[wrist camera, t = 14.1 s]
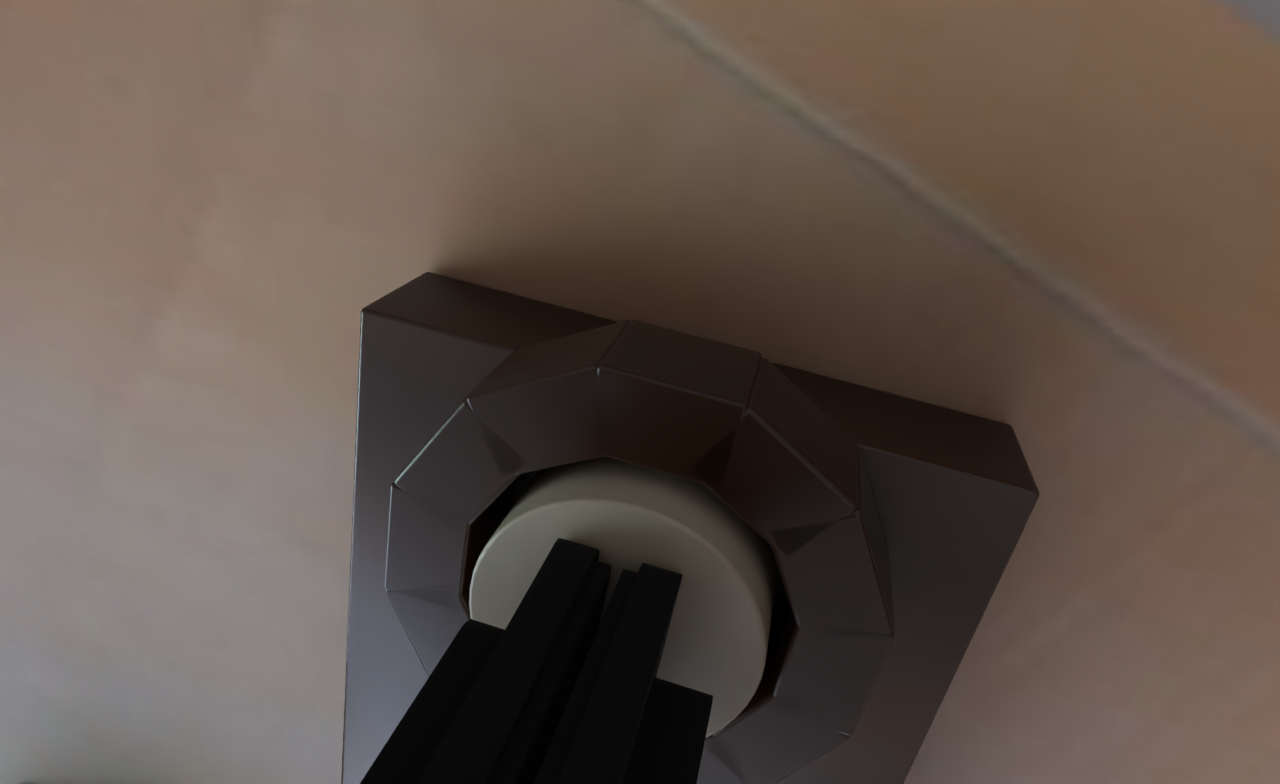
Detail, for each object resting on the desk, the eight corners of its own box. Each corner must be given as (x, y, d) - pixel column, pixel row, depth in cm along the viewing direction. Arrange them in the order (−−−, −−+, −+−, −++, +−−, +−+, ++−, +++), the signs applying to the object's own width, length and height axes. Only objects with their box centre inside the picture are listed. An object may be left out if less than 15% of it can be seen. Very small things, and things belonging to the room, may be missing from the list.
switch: (539, 396, 12) (483, 462, 10) (811, 472, 11) (803, 556, 10) (507, 609, 14) (454, 698, 12) (742, 683, 13) (725, 788, 11)
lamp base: (430, 216, 14) (285, 279, 10) (1036, 370, 13) (1110, 503, 9) (385, 809, 20) (286, 974, 17) (783, 950, 19) (768, 1162, 15)
